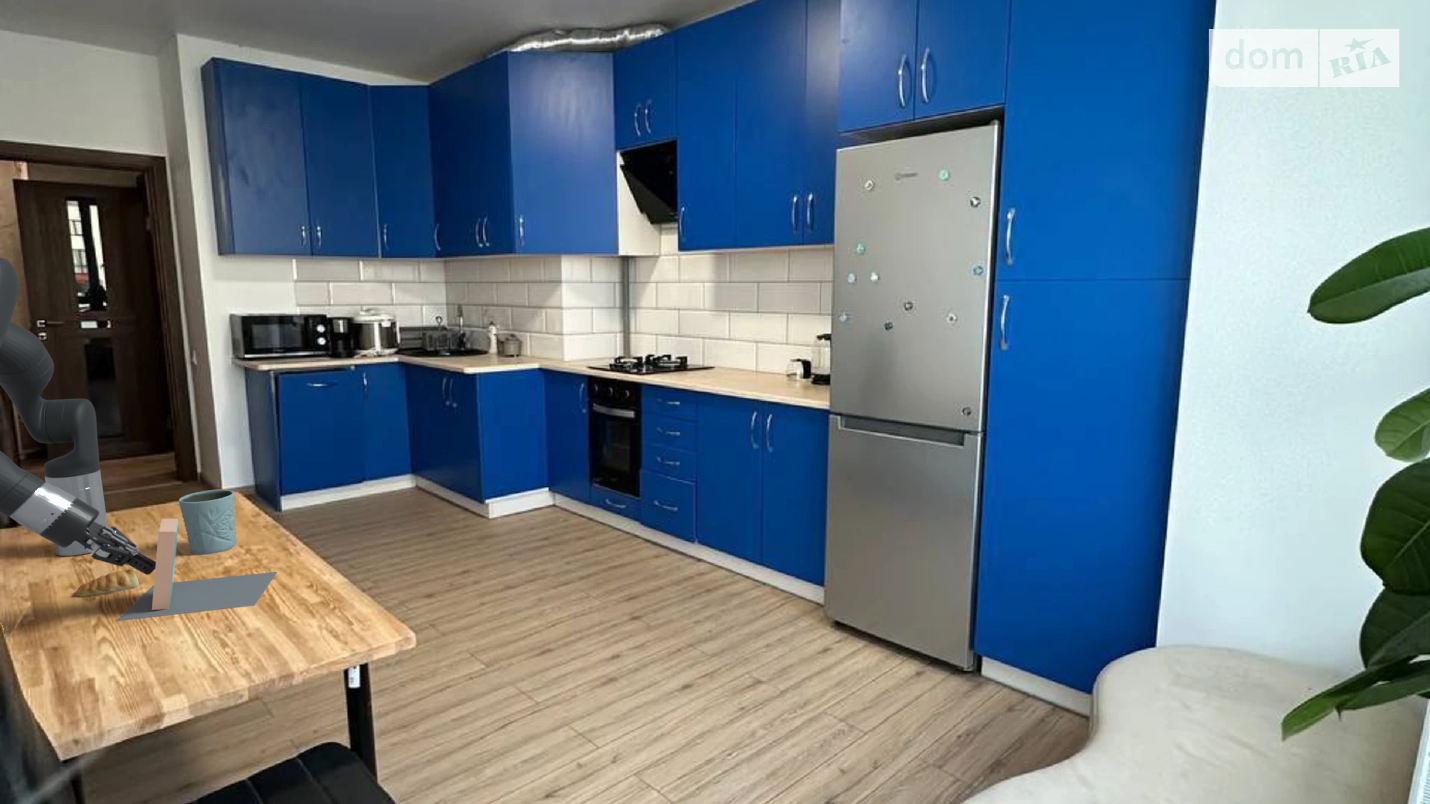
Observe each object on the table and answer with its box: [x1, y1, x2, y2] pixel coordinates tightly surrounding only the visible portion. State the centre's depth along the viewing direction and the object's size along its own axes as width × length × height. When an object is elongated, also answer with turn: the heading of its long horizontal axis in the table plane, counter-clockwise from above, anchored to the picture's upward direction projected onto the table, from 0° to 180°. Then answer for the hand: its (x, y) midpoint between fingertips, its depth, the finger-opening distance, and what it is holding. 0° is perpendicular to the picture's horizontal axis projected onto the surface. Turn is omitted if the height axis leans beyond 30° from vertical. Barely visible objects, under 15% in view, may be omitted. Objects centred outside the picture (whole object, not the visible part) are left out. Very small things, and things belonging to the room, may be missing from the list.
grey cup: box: [178, 488, 237, 556], centre depth 168 cm, size 10×10×12 cm
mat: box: [115, 571, 278, 622], centre depth 142 cm, size 17×21×1 cm
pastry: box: [75, 567, 140, 598], centre depth 145 cm, size 9×7×4 cm
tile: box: [152, 518, 179, 610], centre depth 139 cm, size 3×9×14 cm, turn 32°
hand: (153, 569), depth 138 cm, fingers closed
